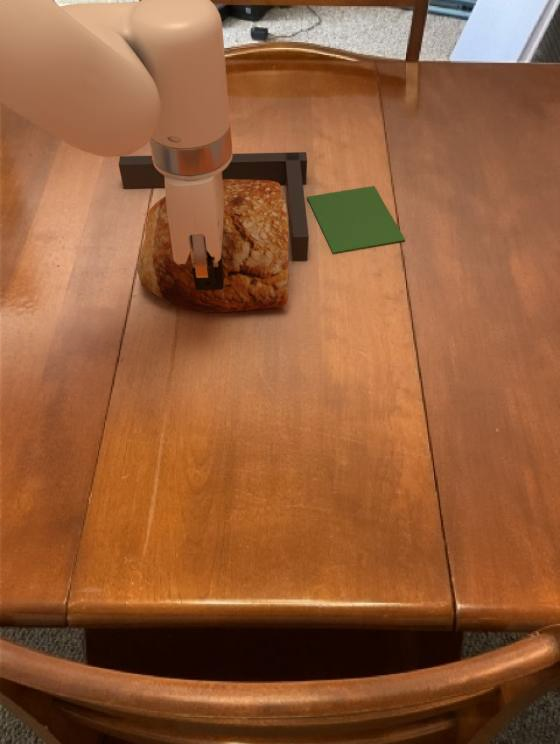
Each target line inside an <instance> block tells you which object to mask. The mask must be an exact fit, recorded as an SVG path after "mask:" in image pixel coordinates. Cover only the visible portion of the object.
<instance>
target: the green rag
mask: <svg viewBox="0 0 560 744" xmlns="http://www.w3.org/2000/svg"><path fill="white" fill-rule="evenodd" d="M306 199H307V202H308V204H309V206H310V208H311V211H312V212H313V214H314V217H315V218H316V221H317V223H318V225H319V227H320V229H321V232H322V233H323V236H324V239H325V240H326V243H327V244H328V247H329V249H330V251H331V254H332V255H335V254H341V253H346V252H347V253H348V252H352V251H358V250H359V251H360V250H364V249H369V248H375V247H380V246H386V245H391V244H393V245H394V244H397V243H403V242H406V239H405V237H404V235H403V233H402V232H401V230H400V228H399V226H398V225H397V222H395V219H394V218H393V216H392V214H391V212H390V211H389V208H388V207H387V206H386V204H385V202H384V200H383V198H382V197H381V195H380V193H379V191H378V190H377V187H376V185H369V186H364V187H359V188H358V187H357V188H352V189H345V190H340V191H333V192H327V193H321V194H313V195H309V196H306Z"/></svg>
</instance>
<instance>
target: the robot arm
mask: <svg viewBox="0 0 560 744" xmlns="http://www.w3.org/2000/svg"><path fill="white" fill-rule="evenodd" d="M224 41H225V39H224V29H223V21H222V17H221V14H220V11H219V10H218V7H217V6H216V5H215V4H214V3H213V2H212V1H211V0H139V1H129V2H99V3H98V2H96V3H95V2H94V3H92V2H91V3H88V2H87V3H85V2H84V3H72V4H65V5H59V4H58V3H57V2H56V1H54V0H0V103H1V104H2V105H4V106H5V107H6V108H8V109H9V110H11V111H13V112H14V113H15V114H17V115H19V116H20V117H22V118H23V119H25V120H26V121H28V122H30V123H32V124H33V125H35V126H37V127H39V128H41V129H42V130H44V131H46V132H48V133H49V134H50V135H52V136H55V137H56V138H58V139H60V140H61V141H62V142H64V143H67V144H68V145H70V146H72V147H74V148H76V149H77V150H80V151H82V152H85V153H87V154H90V155H94V156H97V157H104V158H120V157H121V156H130V155H132V154H133V153H137V152H138V151H139V150H140V149H142V148H144V147H145V146H146V145H147V144H149V148H150V154H151V156H152V160H153V164H154V166H155V168H156V169H157V170H158V171H159V172H160V173H161V174H163V175H164V178H165V188H164V192H165V196H166V204H167V213H168V221H169V228H170V235H171V243H172V250H173V258H174V261H175V262H176V263H177V264H185V263H186V261H187V259H188V256H189V253H190V256H191V261H192V262H191V265H192V271H193V278H194V284H195V289H196V290H221V289H223V287H224V283H223V281H224V274H223V265H222V256H221V252H222V239H223V222H224V195H223V180H222V171H223V170H224V169H225V168H227V167H228V165H229V164H230V162H231V160H232V157H233V154H234V153H233V142H232V130H231V117H230V105H229V93H228V92H229V91H228V80H227V68H226V67H227V65H226V55H225V53H226V52H225V42H224Z"/></svg>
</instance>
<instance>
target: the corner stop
mask: <svg viewBox="0 0 560 744" xmlns="http://www.w3.org/2000/svg"><path fill="white" fill-rule="evenodd" d="M118 169H119V173H120V174H119V175H120V179H121V185H122V189H125V190H128V189H129V190H131V189H133V190H134V189H165V178H164V175H163V174H161V173H160V172H159V171H158V170H157V169H156V168H155V166H154V164H153V160H152V155H125V156H121V157H119V159H118ZM307 172H308V155H307V151H298V152H296V151H295V152H294V151H292V152H291V151H289V152H288V151H287V152H253V153H251V152H249V153H247V152H246V153H233V157H232V160H231V162H230V164H229V165H228V167H227V168H225V169H224V170H223V171H222V180H224V179H252V180H270V181H274V182H278V183H279V184H280V186H285V195H286V210H287V218H288V231H289V240H290V241H289V243H290V252H291V254H290V255H291V261H292V262H295V261H296V262H297V261H299V262H300V261H308V260H309V259H308V258H309V239H310V236H309V235H310V234H309V226H308V218H307V210H306V209H307V207H306V200H305V192H304V185H307V175H308V174H307Z"/></svg>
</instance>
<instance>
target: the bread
mask: <svg viewBox="0 0 560 744" xmlns="http://www.w3.org/2000/svg"><path fill="white" fill-rule="evenodd" d="M223 195H224V222H223V239H222V252H221V256H222V265H223V274H224V281H223V283H224V287H223V289H221V290H196V289H195V284H194V278H193V271H192V265H191V262H192V261H191V256H190V253H189V256H188V259H187V261H186V263H185V264H177V263H176V262H175V261H174V258H173V250H172V243H171V235H170V228H169V221H168V213H167V204H166V195H165V196H164V197H161V198H160V199H159V200H158V201H156V202H155V203H154V204H153V205H152V206H151V207H150V208H149V210H148V212H147V219H146V225H145V233H144V240H143V244H142V246H141V250H140V253H139V256H138V261H137V267H136V272H137V276H138V279H139V282H140V285H141V287H142V288H144V289H145V290H147V291H149V292H150V293H152V294H154V295H156V297H159V298H160V299H162V300H163V301H164V302H166V303H167V304H169V305H170V306H172V307H176V308H178V309H179V308H180V309H184V310H187V311H194V312H204V313H205V312H206V313H229V312H230V313H231V312H232V313H233V312H245V311H252V310H258V309H259V310H260V309H268V308H281V307H283V306H285V305H287V304H288V302H289V291H288V290H289V281H290V280H289V279H290V274H289V267H288V266H289V261H290V253H289V250H290V249H289V235H290V232H289V220H288V209H287V202H286V199H285V195H284V194H283V192H282V187H281V185H280V184H279V183H278V182H274V181H270V180H252V179H224V180H223Z"/></svg>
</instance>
